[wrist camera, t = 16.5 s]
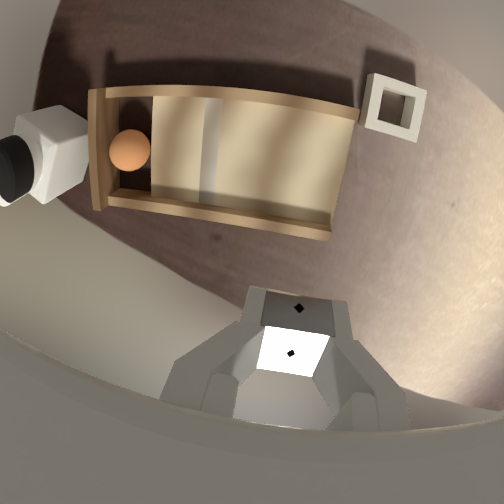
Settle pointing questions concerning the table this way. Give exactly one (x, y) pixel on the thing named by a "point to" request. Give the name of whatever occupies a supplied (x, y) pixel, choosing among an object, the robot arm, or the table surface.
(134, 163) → the ball
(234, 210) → the lane
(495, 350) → the table surface
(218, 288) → the table surface
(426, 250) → the table surface
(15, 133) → the medicine bottle
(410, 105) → the square ring
